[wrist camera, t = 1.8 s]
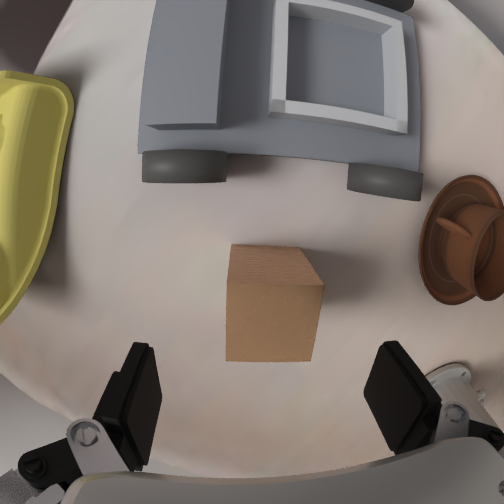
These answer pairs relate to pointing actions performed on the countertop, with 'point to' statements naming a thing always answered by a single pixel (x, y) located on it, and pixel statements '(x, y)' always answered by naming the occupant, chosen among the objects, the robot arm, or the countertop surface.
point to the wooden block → (271, 304)
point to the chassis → (283, 89)
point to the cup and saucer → (464, 242)
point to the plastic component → (28, 175)
